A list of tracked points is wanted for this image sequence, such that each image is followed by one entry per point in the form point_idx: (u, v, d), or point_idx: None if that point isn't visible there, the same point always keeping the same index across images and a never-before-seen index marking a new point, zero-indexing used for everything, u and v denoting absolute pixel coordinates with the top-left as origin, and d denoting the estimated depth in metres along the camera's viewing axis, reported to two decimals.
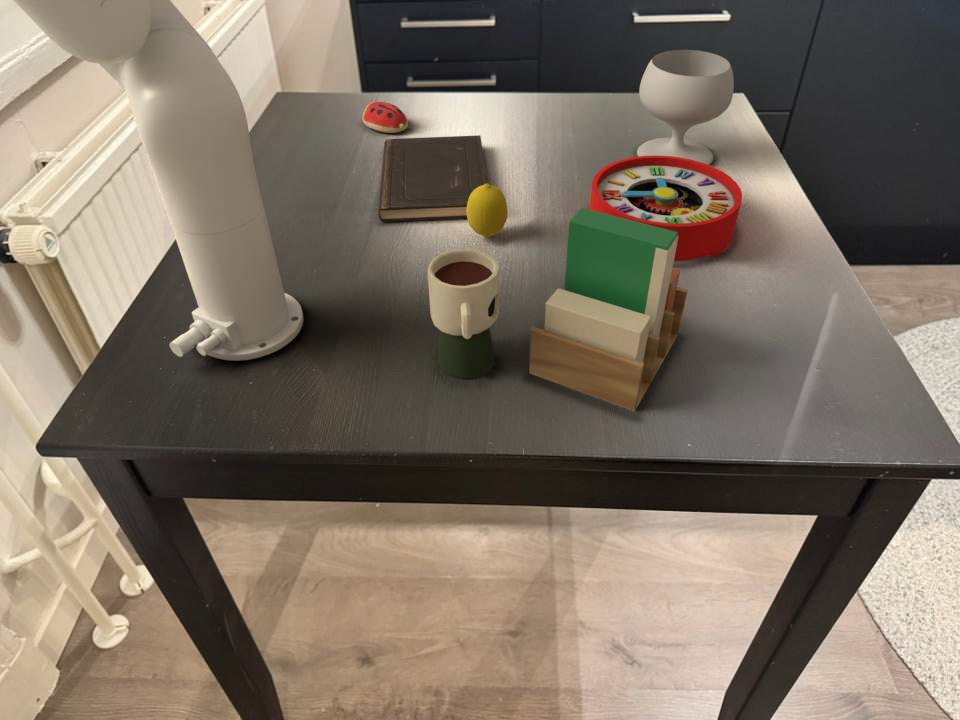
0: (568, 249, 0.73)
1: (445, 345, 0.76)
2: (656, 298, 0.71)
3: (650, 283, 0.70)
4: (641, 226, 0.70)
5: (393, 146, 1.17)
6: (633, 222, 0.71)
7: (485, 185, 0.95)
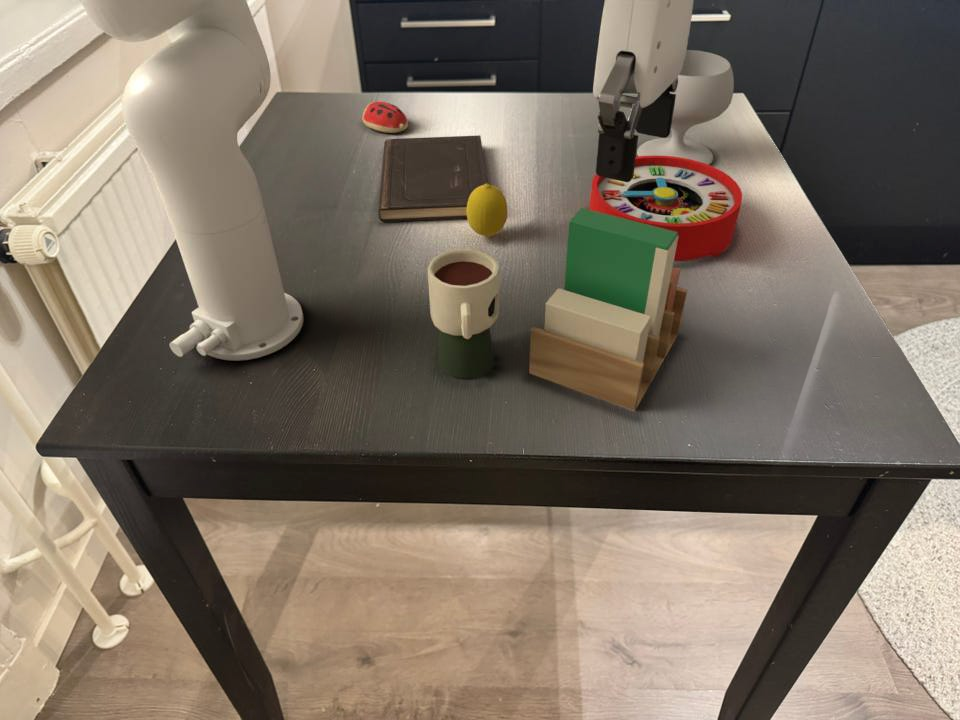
0: (568, 249, 0.73)
1: (445, 345, 0.76)
2: (656, 298, 0.71)
3: (650, 283, 0.70)
4: (641, 226, 0.70)
5: (393, 146, 1.17)
6: (633, 222, 0.71)
7: (485, 185, 0.95)
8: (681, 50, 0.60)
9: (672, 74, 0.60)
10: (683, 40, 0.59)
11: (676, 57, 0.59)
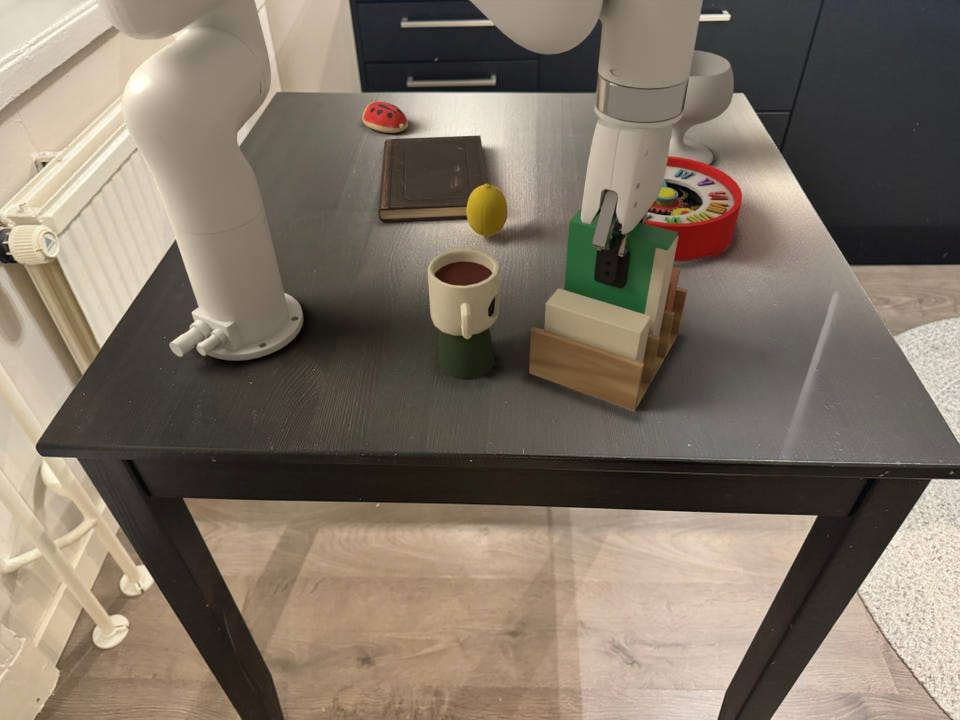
0: (568, 249, 0.73)
1: (445, 345, 0.76)
2: (656, 298, 0.71)
3: (650, 283, 0.70)
4: (641, 226, 0.70)
5: (393, 146, 1.17)
6: None
7: (485, 185, 0.95)
8: (659, 180, 0.67)
9: (651, 200, 0.68)
10: (661, 172, 0.67)
11: (654, 187, 0.67)
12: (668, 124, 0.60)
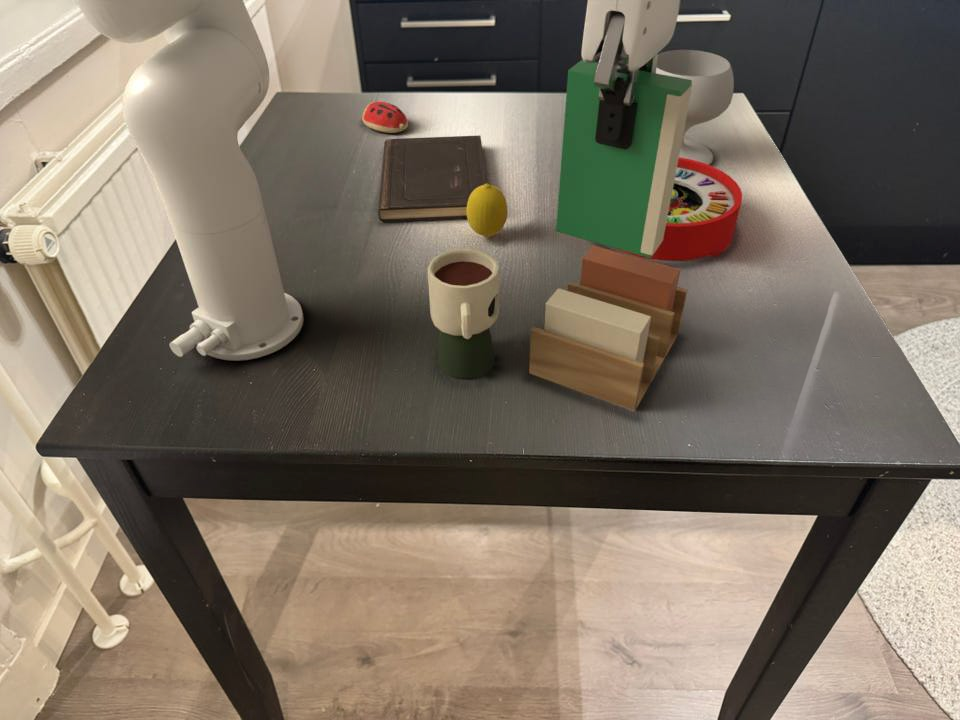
0: (566, 107, 0.64)
1: (445, 345, 0.76)
2: (666, 160, 0.62)
3: (659, 141, 0.62)
4: (650, 74, 0.61)
5: (393, 146, 1.17)
6: (641, 71, 0.62)
7: (485, 185, 0.95)
8: (672, 15, 0.59)
9: (662, 39, 0.59)
10: (674, 4, 0.58)
11: (667, 21, 0.58)
12: None
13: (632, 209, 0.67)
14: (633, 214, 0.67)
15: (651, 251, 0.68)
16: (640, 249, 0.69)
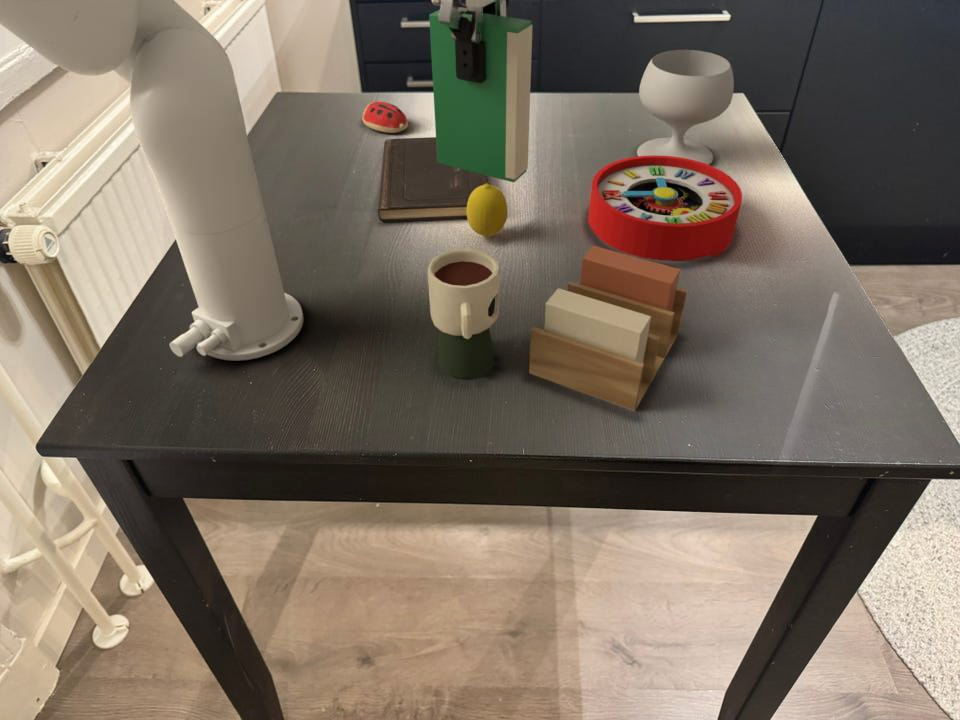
0: (432, 48, 0.75)
1: (445, 345, 0.76)
2: (514, 91, 0.73)
3: (507, 74, 0.72)
4: (497, 17, 0.72)
5: (393, 146, 1.17)
6: (490, 15, 0.72)
7: (485, 185, 0.95)
8: None
9: None
10: None
11: None
12: None
13: (494, 138, 0.77)
14: (495, 142, 0.77)
15: (513, 176, 0.79)
16: (505, 174, 0.79)
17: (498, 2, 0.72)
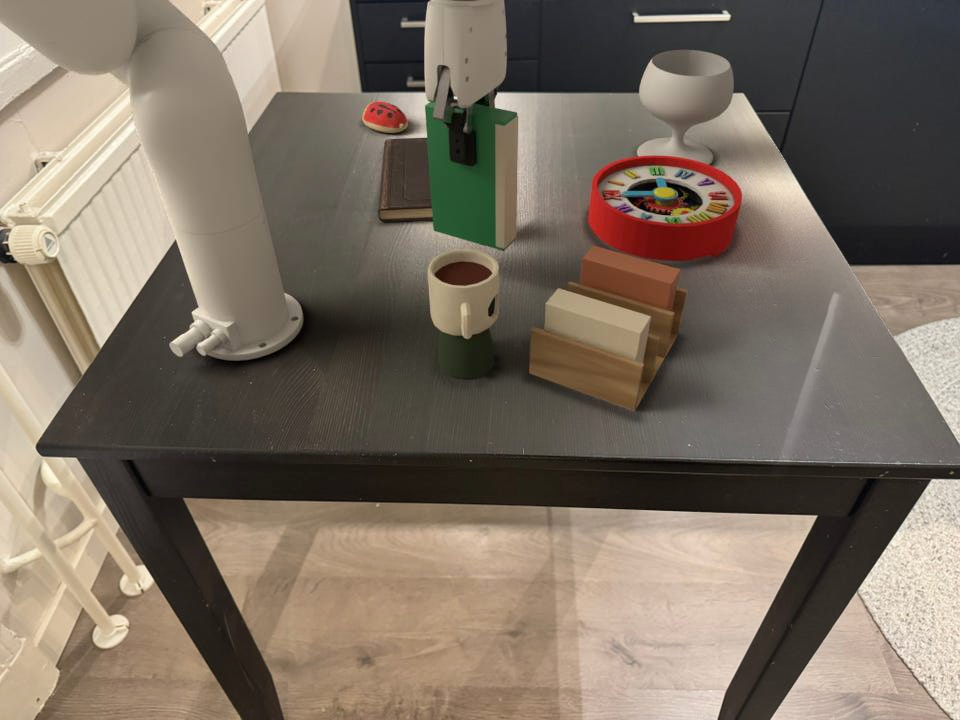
0: (427, 133, 0.82)
1: (445, 345, 0.76)
2: (502, 174, 0.80)
3: (495, 159, 0.80)
4: (487, 108, 0.79)
5: (393, 146, 1.17)
6: (480, 105, 0.80)
7: None
8: (497, 63, 0.76)
9: (490, 82, 0.77)
10: (497, 56, 0.76)
11: (491, 69, 0.76)
12: (487, 3, 0.69)
13: (485, 212, 0.85)
14: (486, 216, 0.85)
15: (503, 245, 0.86)
16: (496, 243, 0.87)
17: (487, 94, 0.79)
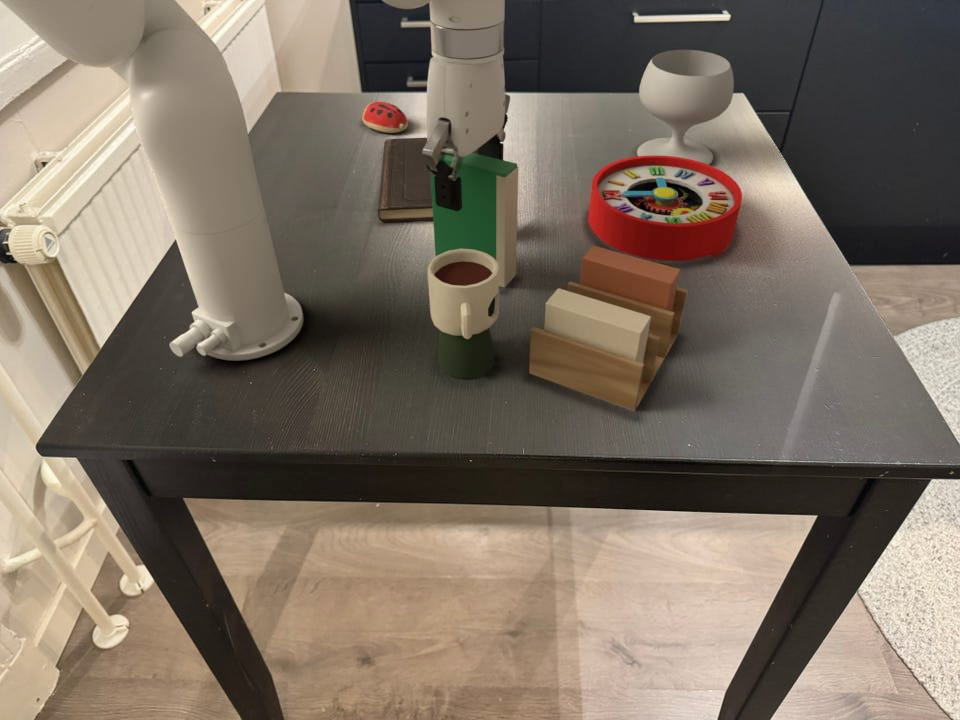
0: (431, 181, 0.86)
1: (445, 345, 0.76)
2: (503, 221, 0.84)
3: (496, 208, 0.83)
4: (488, 159, 0.83)
5: (393, 146, 1.17)
6: (482, 156, 0.84)
7: None
8: (496, 114, 0.80)
9: (489, 131, 0.80)
10: (496, 107, 0.79)
11: (490, 119, 0.79)
12: (487, 61, 0.73)
13: None
14: None
15: (503, 286, 0.90)
16: None
17: None
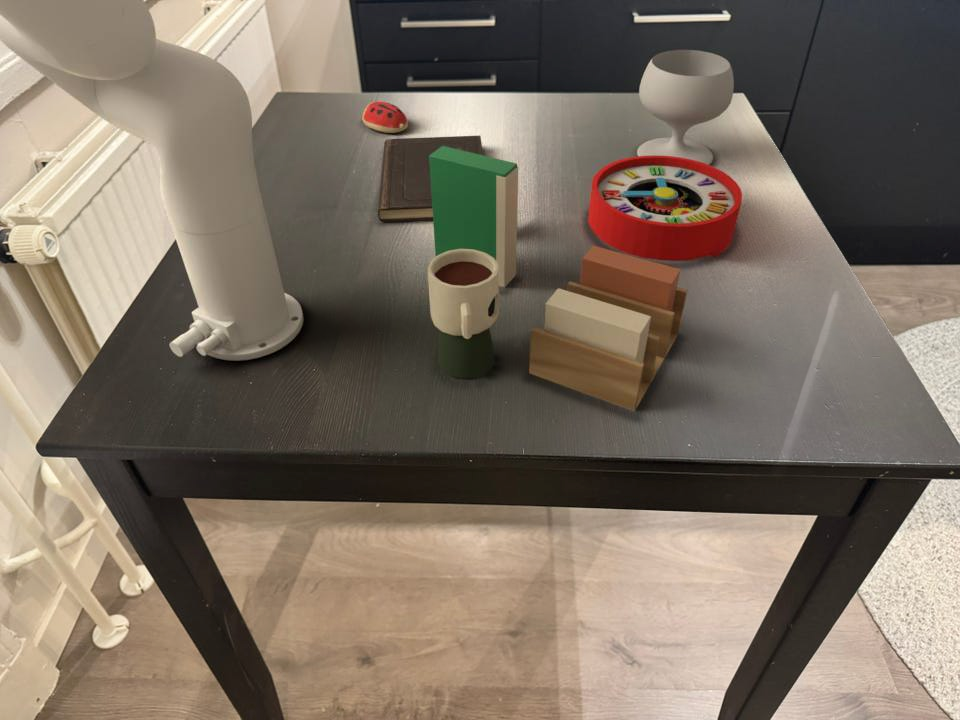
0: (431, 181, 0.86)
1: (445, 345, 0.76)
2: (503, 221, 0.84)
3: (496, 208, 0.83)
4: (488, 159, 0.83)
5: (393, 146, 1.17)
6: (482, 156, 0.84)
7: None
8: None
9: None
10: None
11: None
12: None
13: None
14: None
15: (503, 286, 0.90)
16: None
17: None
